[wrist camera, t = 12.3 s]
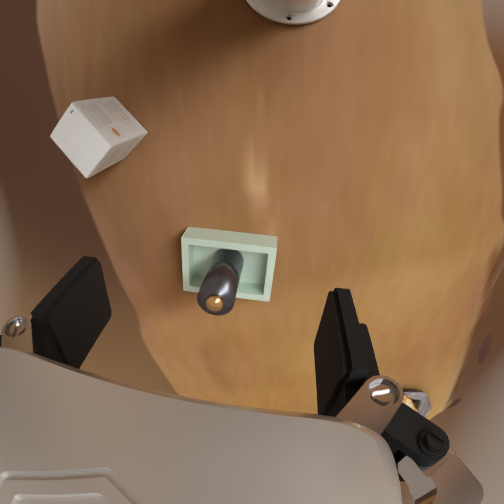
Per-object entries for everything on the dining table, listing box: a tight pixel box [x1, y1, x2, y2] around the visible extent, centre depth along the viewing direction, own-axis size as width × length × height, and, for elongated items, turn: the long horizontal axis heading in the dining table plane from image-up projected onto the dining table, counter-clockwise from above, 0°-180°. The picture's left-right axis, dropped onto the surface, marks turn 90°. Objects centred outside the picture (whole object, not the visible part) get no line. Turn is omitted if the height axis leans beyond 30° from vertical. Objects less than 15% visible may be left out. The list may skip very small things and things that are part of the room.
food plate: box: [402, 391, 431, 417], centre depth 63 cm, size 25×23×4 cm
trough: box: [181, 227, 277, 301], centre depth 45 cm, size 9×13×4 cm
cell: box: [197, 248, 244, 315], centre depth 41 cm, size 4×4×11 cm
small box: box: [50, 96, 148, 179], centre depth 33 cm, size 8×6×10 cm
